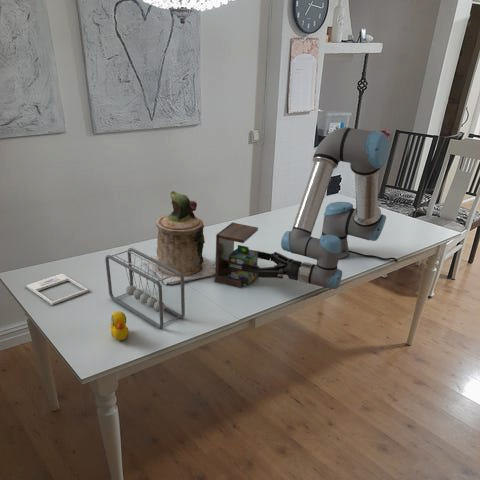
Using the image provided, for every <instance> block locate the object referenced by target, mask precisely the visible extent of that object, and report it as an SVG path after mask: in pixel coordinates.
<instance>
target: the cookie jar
mask: <svg viewBox="0 0 480 480" xmlns="http://www.w3.org/2000/svg"><path fill="white" fill-rule="evenodd" d="M170 199H171V202H170V203H171V205H172V209H173V210H172V212H171V213H169V214H167V215H163V216H160V217H159V218H157V220H156V222H155V226H156V227H157V236H156V237H157V238H156V245H157V246H156V256H150V257H151V258H153V259H155V260H157V261H159V262H161V263H163V264H165V265H167V266H169V267H171V268H173V269H175V270H177V271H179V272H181V273H182V275H183V277H184V282H190V281H194V280H198V279H203V278H208V277H213V276H215V269H216V265H215V264H212V263H211V262H210V261H209V260H208V259H206V258H205V257H204V256H203V251H204V244H205V235H204V228H205V224H204V221H203V219H202V218H198V217H197V216H196V215H195V213H194V212H195V211H197V206H198V202H197V201H195V200H190V198H189V196H187V195H186V194H182V193H178V192H176V191H174V190H171V191H170ZM143 259H145V260H147V261H149V262H151V263H153V264H155V265H157V266H159V267H161V268H163V269H165V270H167V271H169V272H171V273H173V274H176V273H174V272H172V271H170V270H168V269H166V268H164V267H162V266H160V265H158V264H156V263H154V262H152V261H150V260H148V259H146V258H144V257H143ZM145 260H143V261H144V264H145V265H146V266H147V267H148V266H149V269H150V268H151V269H150V270H151V271H152V272H154V273H155V271H156V275H157V277H158V278H159V279H162V278H166V277H169V276H171V275H172V274H170V273H169V272H167V271H165V270H164V273H163V269H161V268H159V267H156V266H155V265H153V264H151V263H149V262H147V261H145ZM147 263H148V264H147ZM153 267H154V268H153ZM160 271H161V272H160ZM157 272H158V273H157ZM162 283H164V285H165V286H167V284H169V285H175V284H179V283H181V278H180V276H179V275H178V274H177V275H174V276H172V277H169V278H167V279H164V280H163V282H162Z"/></svg>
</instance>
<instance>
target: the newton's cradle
mask: <svg viewBox="0 0 480 480" xmlns="http://www.w3.org/2000/svg"><path fill="white" fill-rule="evenodd" d="M125 253H127V258H121V257H120V256H118V255H122V254H125ZM132 255H133V256H132ZM133 257H134V258H135V257H137V258H139V259H138V260H134V261H133V262H132V258H133ZM151 257H152V256H149V255H147V254H145V253H143V252H141V251H140V250H137V249H135V248H133V247H129V248H128V249H127V250H125V251H122V252H119V253H115V254H112V255H110V254H106V256H105V259H104V260H105V269H106V280H107V286H108V288H107V289H108V294H109V297H110V299H111V300H112V301H114V302H115V303H117V304H119V305H120V306H122V307H123V308H125V309H127V310H128V311H130V312H132V313H133V314H135V315H136V316H138V317H140V318H141V319H143V320H145V321H146V322H148V323H149V324H151V325H153V326H154V327H156V328H157V329H162V328H163V327H164V325H166V324H169V323H170V322H172V321H174V320H177V319H183V318H185V313H186V309H185V308H186V306H185V305H186V304H185V303H186V301H185V281H184V277H183V275H182V273H181V272H179V271H177V270H175V269H173V268H171V267H169V266H167V265H165V264H163V263H161V262H159V261H157V260H155V259H153V258H151ZM144 258H146V259H148V260H150V261H152V262H154V263H156V264H158V265H160V266H162V267H164V268H166V269H168V270H170V271H172V272H174V273H176V274H173V273H171V272H169V271H167V270H165V269H163V268H161V267H159V266H157V265H155V264H153V263H151V262H149V261H147V260H145V259H144ZM126 259H127V260H126ZM110 260H111V261H113V262H115V263H117V264H118V265H120V266H122V267H124V269H125V271H126V274H127V279H128V283H129V285H128V286H127V287H126V289H125V291H126V293H123V294H122V295H118V296H116V297H115V296H114V294H113V288H112V277H111V267H110ZM144 260H145V261H147V262H149V263H151V264H153V265H155V266H156V267H159V268H161V269H163V273H164V270H165V271H167V272H169V273H170V274H172V275H171V276H169V277H172V276H174V275H177V274H178V275H179V276H180V278H181V282H180V305H181V306H180V309H181V310H180V311H181V314H180V313H178V312H176V311H175V310H173V309H171V308H169V307H167V306H166V305H165V303H164V301H163V285H162V283H164V282H163V280H164V279H167V278H169V277H166V278H162V279H160V277H158V276H156V275H157V274H156V271H155V272H154V273H153V274H152V273H150V271H149V270H151V268H149V266H148V265H147V264H148V263H147V264H145V263H144V264H143V262H141V263H140V265H138V266H136V265H135V264H136V262H140V261H144ZM145 261H144V262H145ZM144 265H147V267H148V268H147V269H145V270H144V269H143V268H142V267H143V266H144ZM153 268H154V267H153ZM127 269H128V271H127ZM160 272H161V271H160ZM157 273H158V272H157ZM135 274H137V275H138V277H139V281H140V283H139V285H138V286H137V283H136V278H135ZM142 277H143V278H144V279H146V285H145V290H144V287H143V284H142V279H141V278H142ZM148 281H150V282H152V283H153V288H154V289H153V290H152V294H151V290H150V286H149V282H148ZM160 282H161V283H160ZM134 283H135V285H134ZM140 285H141V286H140ZM156 286H157V288H158V289H157V288H156ZM138 287H139V288H138ZM140 287H142V289H140ZM147 288H148V291H149V293H147V292H145V291H147ZM156 289H157V290H158V293H157V290H156ZM154 293H155V294H156V297H155V296H152V295H155V294H154ZM126 295H128V296H132V297H133V298H134V299H135V300H137V301H140V302H141V303H142V304H146V305H147V307H149V308H151V309H154V311H156V312H157V313H159V323H157V322H156V321H154V320H152V319H151V318H149V317H147V316H146V315H144V314H142V313H140V312H139V311H138V310H136V309H134V308H133V307H132V306H129V305H128V304H127V303H125V302H123V301H121V300H119V299H118V298H121V297H123V296H126ZM164 310H165V311H166V312H168V313H170V314H171V315H173V316H174V318H172V319H170V320H168V321H164Z"/></svg>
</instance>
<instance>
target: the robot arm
mask: <svg viewBox="0 0 480 480" xmlns="http://www.w3.org/2000/svg"><path fill="white" fill-rule="evenodd" d="M316 147H317V148H316V149H315V151H314V153H313V157H312V162H313V165H312V168H311V171H310V175H309V177H308V180H307V183H306V187H305V189H304V193H303V196H302V198H301V201H300V204H299V207H298V211H297V213H296V216H295V219H294V222H293V225H292V229H291V230H286V231H285V232H284V233H283V235H282V237H281V240H280V245H281V246H280V247H281V249H282V250H283V251H286V252H287V253H291V254H295V255H299V256H303V257H306V258H309V259H313V260H316V264H314V263H311V262H306V261H300V260H296V259H294V258H289V257H288V256H285V255H283V254H281V253H280V252H277V251H274V252H272V253H270V252H264V251H260V250H257V251H258V259H260V260H265V261H269V262H273V263H274V264H276V265H273V266H267V267H265V266H264V267H260V266H259V265H257V266H253V265H249V264H244V263H242V270H243V271H247V272H251V273H256V274H257V277H256V278H259V279H260V278H263V279H264V278H267V279H268V278H269V279H281V280H282V279H284V276H287V278H288V279H289V280H290V281H291V280H292V281H294V282H295V281H296V282H297V281H299V282H301V283H304V284H306V285H307V284H309V285H314V286H317V287H322V288H325V289H331V290H336V289H338V288H340V285H341V282H342V279H343V271H342V270H341V269H339V268H338V264H339V260H340V259H344V258H346V257H348V255H349V254H354V255H358V256H361V257H366V258H375V259H378V260H383V261H391V260H394V261H395V262H399V260H398V259H397V258H395V257H381V256H378V255H373V254H365V253H360V252H357V251H353V250H349V243H348V236H351V237H354V238H359V239H362V240H366V241H372V242H376V241H378V240H379V238H380V236H381V234H382V231H383V230H384V226H385V224H386V220H387V215H385V214H382V210H381V208H380V207H379V204H378V203H379V202H378V201H379V199H378V197H379V172H380V170H381V169H382V168H383V167H384V166H385V165H386V164H387V160H388V157H389V152H390V140H389V137H388V136H387V134H386V133H384V132H381V131H377V130H366V129H360V128H352V127H346V126H345V127H344V126H342V127H339V128H337V129H334V130H332V131H331V132H330V133H328V134H327V135H326V136H325V137H324V138H323V139H322V140H321V141H320V143H319V144H318V146H316ZM340 162H343V163H347V164H349V166H350V170H351V172H352V173H354V188H355V189H354V190H355V191H354V192H355V208H354V204H353V203H351V202H349V201H334V202H330V203H328V204H327V205H326V206H325V210H324V214H323V221H322V228H321V234H320V237H319V238H317V237H313V236H312V233H313V231H314V227H315V225H316V222H317V220H318V216H319V213H320V211H321V207H322V204H323V202H324V199H325V195H326V192H327V190H328V187H329V184H330V181H331V178H332V175H333V172H334V171H335V169H337V168H338V167H339V163H340Z"/></svg>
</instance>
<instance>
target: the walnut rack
mask: <svg viewBox="0 0 480 480" xmlns="http://www.w3.org/2000/svg"><path fill="white" fill-rule="evenodd" d="M258 231H259V227H258V226H257V227H256V226H252V225H247V224H242V223H237V222H231V223H229V224H228V225H227V226H225V227H224V228H223V229H222V230H220V231H219V232H217V233H216V234H215V267H216V269H215V275H214V276H215V277H214V282H215V283H219V284H224V285H227V286H231V287H235V288H238V289H242V287H243V284H242V280H239V279H235V278H231V277H228V275H227V274H228V271H229V255H230V254H231V253H232V252H233V251H234V250H235V242H236V243H239V244H240V243H241V244H244V243H246V242H247V241H248V240H249V239H250V238H251V237H252V236H254V235H255V234H256V233H257V232H258ZM226 275H227V276H226Z"/></svg>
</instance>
